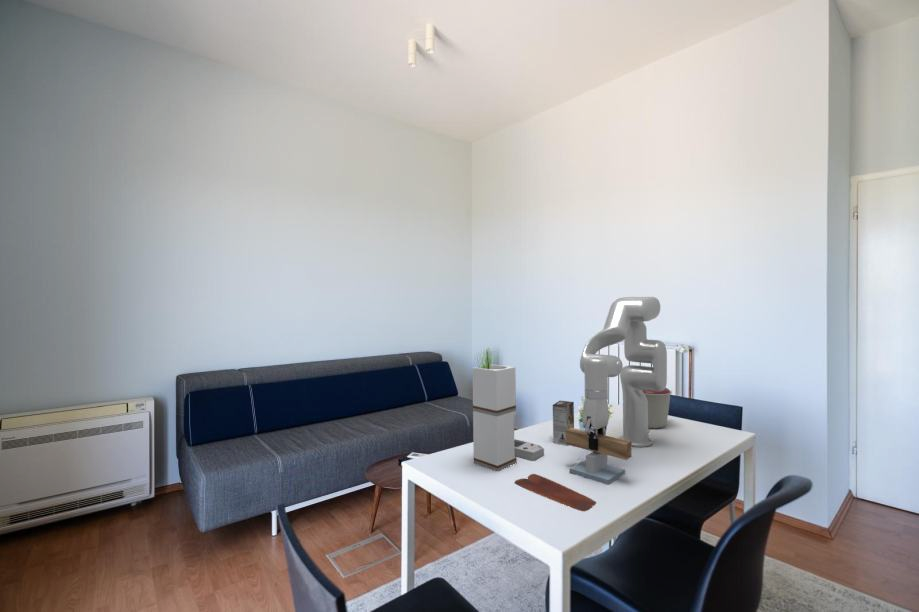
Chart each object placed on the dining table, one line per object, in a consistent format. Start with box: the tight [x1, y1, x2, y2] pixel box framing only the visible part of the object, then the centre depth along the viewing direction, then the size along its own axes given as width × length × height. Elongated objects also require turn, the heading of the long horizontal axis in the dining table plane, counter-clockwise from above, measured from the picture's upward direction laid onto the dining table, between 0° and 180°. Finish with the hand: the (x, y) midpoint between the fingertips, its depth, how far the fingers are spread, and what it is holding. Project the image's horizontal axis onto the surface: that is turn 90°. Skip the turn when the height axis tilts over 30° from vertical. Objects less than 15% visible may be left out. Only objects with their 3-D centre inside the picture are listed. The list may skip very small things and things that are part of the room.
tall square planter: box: [471, 363, 518, 472], centre depth 156 cm, size 11×11×35 cm
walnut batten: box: [565, 427, 633, 461], centre depth 145 cm, size 4×22×5 cm, turn 44°
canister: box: [642, 387, 673, 429], centre depth 200 cm, size 18×18×21 cm
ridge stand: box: [568, 451, 626, 486], centre depth 146 cm, size 12×14×7 cm
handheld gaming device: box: [514, 438, 545, 462], centre depth 165 cm, size 9×15×4 cm, turn 50°
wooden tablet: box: [514, 473, 597, 512], centre depth 132 cm, size 27×10×2 cm, turn 39°
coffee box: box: [552, 400, 575, 446], centre depth 179 cm, size 9×6×16 cm
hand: (596, 447), depth 146 cm, fingers closed on walnut batten, 3 cm apart
